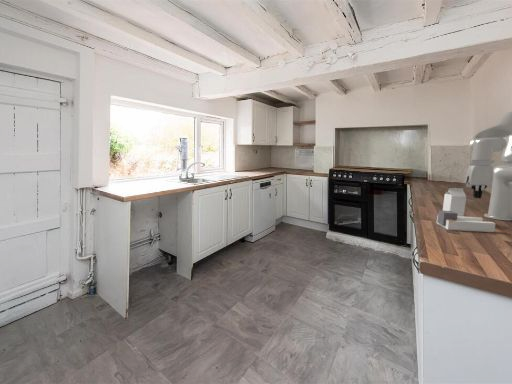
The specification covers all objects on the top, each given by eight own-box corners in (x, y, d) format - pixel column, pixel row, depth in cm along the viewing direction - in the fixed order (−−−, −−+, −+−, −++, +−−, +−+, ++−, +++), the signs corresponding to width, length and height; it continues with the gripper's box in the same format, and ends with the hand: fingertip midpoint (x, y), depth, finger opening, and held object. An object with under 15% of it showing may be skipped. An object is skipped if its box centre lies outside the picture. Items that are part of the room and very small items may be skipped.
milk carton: (462, 222, 134) (467, 189, 131) (448, 222, 135) (452, 189, 132) (455, 219, 141) (459, 187, 137) (441, 218, 142) (445, 187, 139)
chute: (478, 225, 129) (479, 216, 128) (494, 232, 118) (496, 222, 117) (436, 223, 134) (437, 214, 133) (448, 229, 122) (449, 220, 121)
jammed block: (449, 223, 129) (451, 210, 128) (456, 226, 124) (457, 213, 123) (437, 222, 131) (438, 210, 130) (442, 225, 125) (444, 213, 124)
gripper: (493, 161, 124) (488, 196, 128) (459, 163, 128) (456, 196, 131) (504, 163, 117) (499, 199, 121) (468, 164, 121) (464, 199, 124)
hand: (477, 197), depth 126 cm, fingers closed
